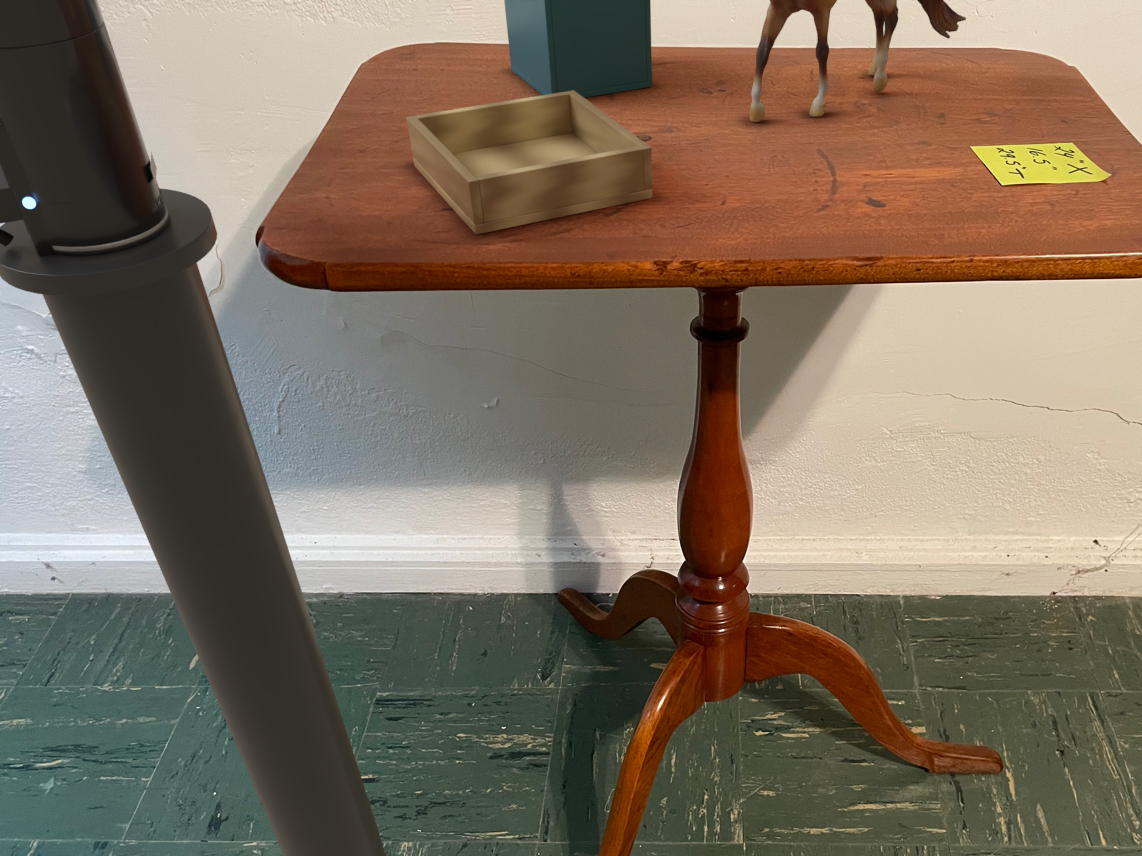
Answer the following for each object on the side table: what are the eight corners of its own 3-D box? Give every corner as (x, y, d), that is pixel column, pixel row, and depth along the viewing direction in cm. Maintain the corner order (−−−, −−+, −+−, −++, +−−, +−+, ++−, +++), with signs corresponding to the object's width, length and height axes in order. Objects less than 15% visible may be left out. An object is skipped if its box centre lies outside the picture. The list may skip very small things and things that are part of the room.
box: (475, 235, 84) (468, 181, 82) (414, 166, 95) (405, 116, 92) (652, 198, 90) (651, 147, 88) (577, 137, 101) (573, 89, 98)
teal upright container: (552, 103, 107) (543, -13, 101) (511, 70, 115) (500, -40, 108) (652, 86, 112) (650, -26, 105) (606, 56, 119) (601, -50, 112)
